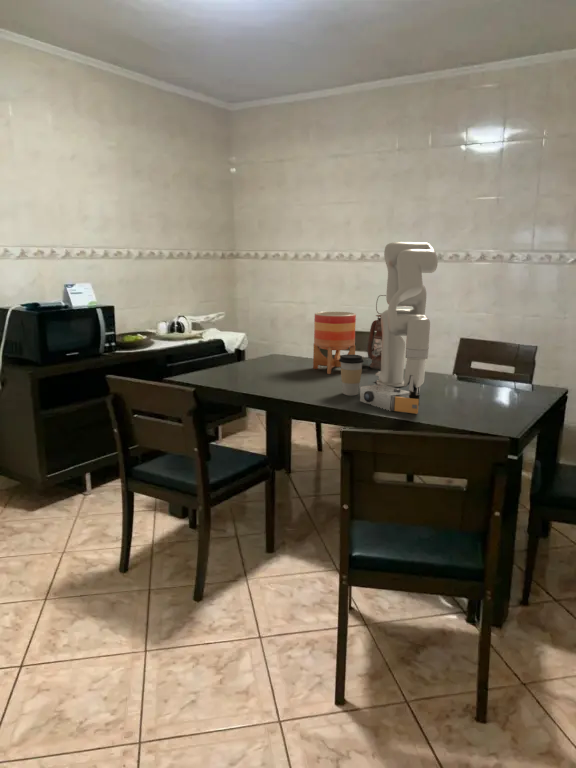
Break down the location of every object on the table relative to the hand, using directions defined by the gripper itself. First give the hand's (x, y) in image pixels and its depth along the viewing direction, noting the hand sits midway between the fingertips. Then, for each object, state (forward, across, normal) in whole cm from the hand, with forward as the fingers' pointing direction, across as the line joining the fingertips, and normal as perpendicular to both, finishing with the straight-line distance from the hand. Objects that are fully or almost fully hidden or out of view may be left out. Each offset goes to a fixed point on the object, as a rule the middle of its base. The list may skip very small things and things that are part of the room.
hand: (413, 405), depth 195 cm
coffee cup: (+2, -14, -29) cm, 32 cm away
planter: (+2, -55, -53) cm, 76 cm away
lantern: (+2, -72, -35) cm, 80 cm away
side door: (+2, +4, -2) cm, 5 cm away
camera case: (+2, -5, -12) cm, 13 cm away
